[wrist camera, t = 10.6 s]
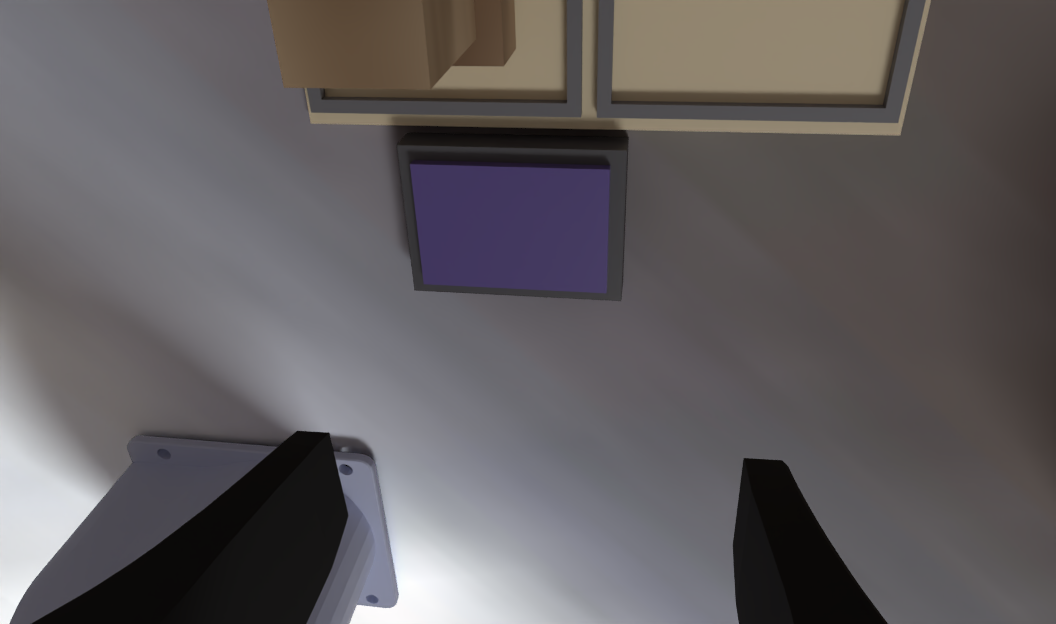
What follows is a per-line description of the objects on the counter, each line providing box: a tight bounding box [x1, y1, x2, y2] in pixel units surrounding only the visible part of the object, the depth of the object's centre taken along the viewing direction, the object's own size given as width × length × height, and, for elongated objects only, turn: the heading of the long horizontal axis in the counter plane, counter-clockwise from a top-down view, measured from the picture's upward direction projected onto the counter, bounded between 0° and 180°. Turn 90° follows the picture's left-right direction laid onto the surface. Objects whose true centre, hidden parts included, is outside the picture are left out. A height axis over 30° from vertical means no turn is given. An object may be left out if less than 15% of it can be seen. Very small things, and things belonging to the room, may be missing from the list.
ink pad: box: [397, 133, 629, 301], centre depth 21 cm, size 6×4×1 cm
